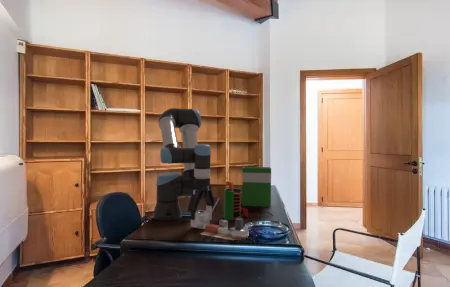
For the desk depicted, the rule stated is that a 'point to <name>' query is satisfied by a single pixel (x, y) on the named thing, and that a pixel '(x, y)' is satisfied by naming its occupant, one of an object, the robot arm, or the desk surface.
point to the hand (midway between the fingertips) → (201, 222)
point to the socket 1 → (202, 218)
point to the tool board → (218, 235)
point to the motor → (232, 202)
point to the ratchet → (230, 230)
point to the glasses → (249, 213)
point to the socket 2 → (223, 223)
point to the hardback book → (256, 186)
